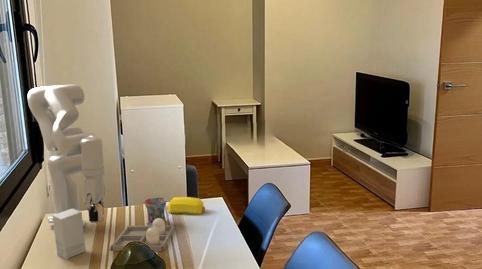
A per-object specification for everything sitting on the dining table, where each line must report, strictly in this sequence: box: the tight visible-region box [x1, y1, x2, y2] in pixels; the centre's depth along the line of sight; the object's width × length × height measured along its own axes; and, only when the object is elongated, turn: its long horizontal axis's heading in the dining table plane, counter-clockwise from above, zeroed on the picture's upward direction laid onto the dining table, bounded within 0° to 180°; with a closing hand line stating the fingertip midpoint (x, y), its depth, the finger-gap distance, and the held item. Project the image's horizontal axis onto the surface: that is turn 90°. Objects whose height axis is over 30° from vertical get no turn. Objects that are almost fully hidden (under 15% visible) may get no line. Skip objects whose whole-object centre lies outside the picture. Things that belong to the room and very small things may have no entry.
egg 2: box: [152, 218, 166, 235], centre depth 181 cm, size 5×5×7 cm
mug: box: [143, 197, 168, 226], centre depth 193 cm, size 12×9×11 cm
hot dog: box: [166, 196, 206, 216], centre depth 206 cm, size 18×7×8 cm
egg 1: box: [90, 203, 105, 224], centre depth 171 cm, size 5×5×7 cm
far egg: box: [146, 227, 160, 246], centre depth 172 cm, size 5×5×7 cm
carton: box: [110, 225, 176, 252], centre depth 177 cm, size 19×19×2 cm
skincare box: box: [51, 209, 87, 260], centre depth 167 cm, size 8×7×16 cm
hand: (96, 217), depth 171 cm, fingers closed on egg 1, 4 cm apart
